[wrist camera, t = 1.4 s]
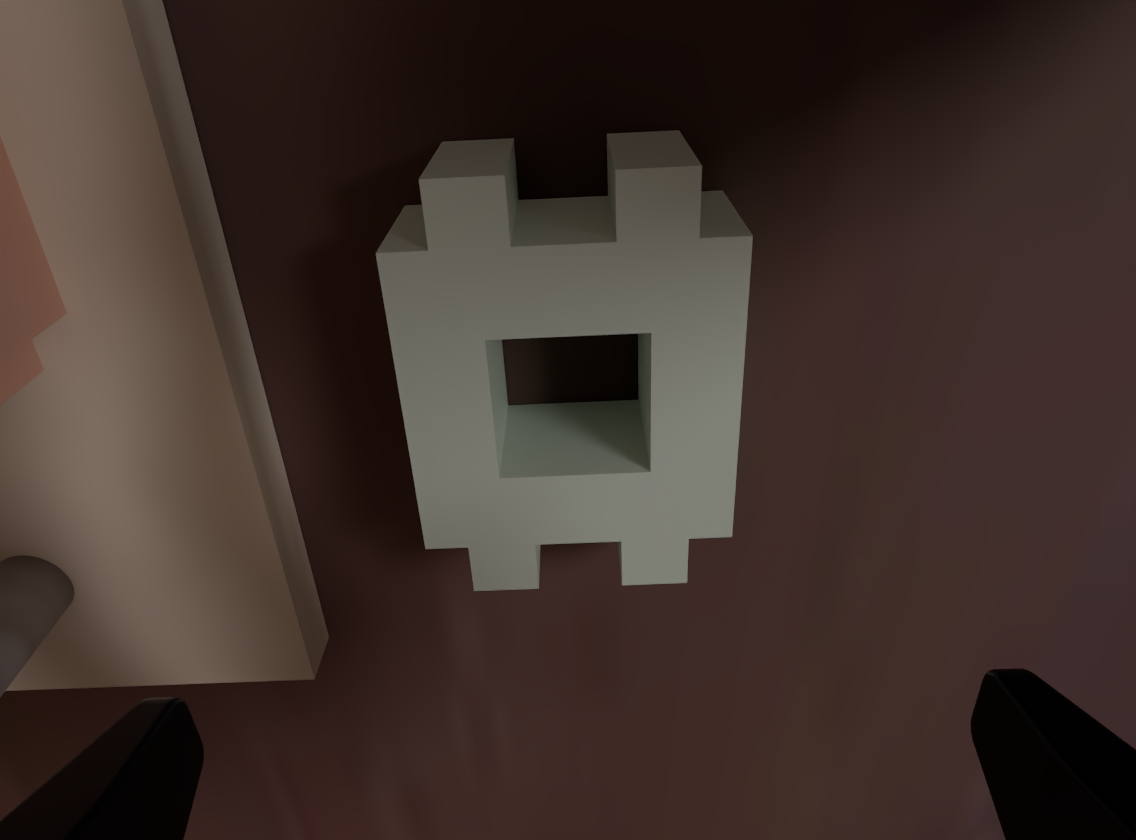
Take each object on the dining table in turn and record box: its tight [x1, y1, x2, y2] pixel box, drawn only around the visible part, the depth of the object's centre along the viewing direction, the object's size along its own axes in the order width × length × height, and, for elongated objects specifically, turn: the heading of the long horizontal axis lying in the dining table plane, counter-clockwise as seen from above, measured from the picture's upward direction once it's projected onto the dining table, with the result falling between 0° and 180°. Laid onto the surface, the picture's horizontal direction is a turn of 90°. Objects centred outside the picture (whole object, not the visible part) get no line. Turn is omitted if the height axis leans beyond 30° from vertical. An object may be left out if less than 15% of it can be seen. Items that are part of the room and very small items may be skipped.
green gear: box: [376, 130, 753, 591], centre depth 17 cm, size 6×9×3 cm
